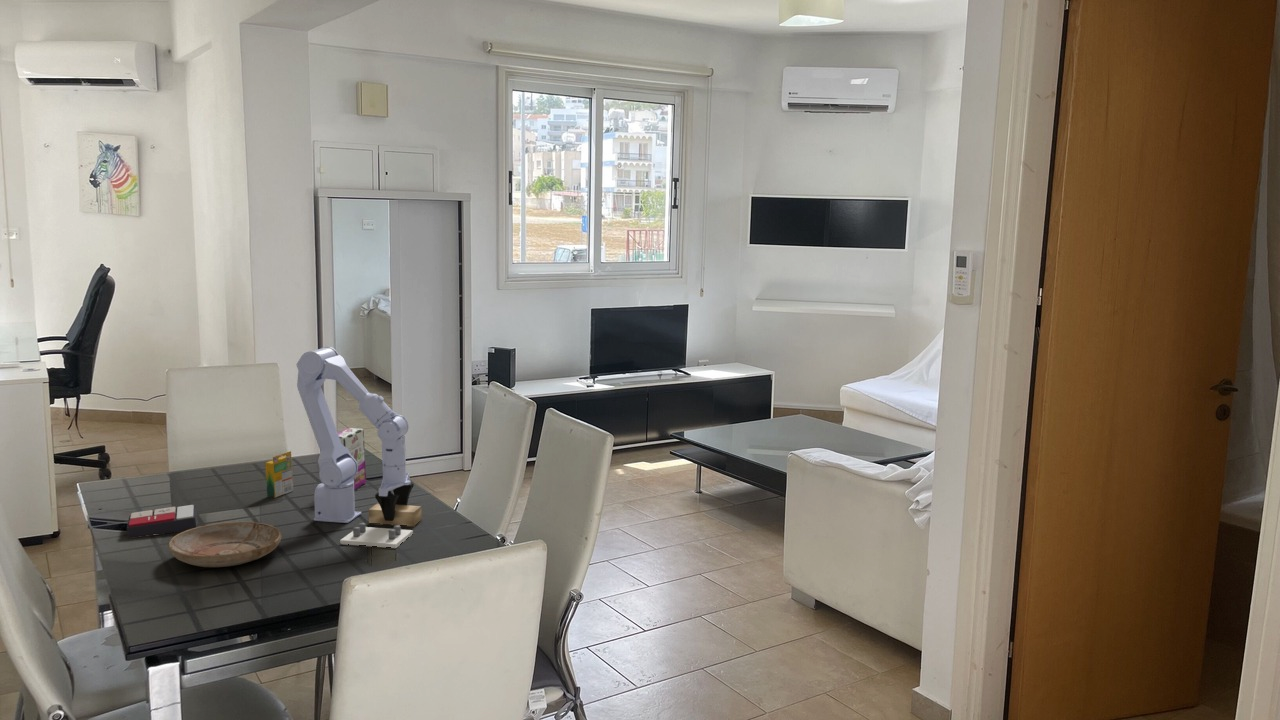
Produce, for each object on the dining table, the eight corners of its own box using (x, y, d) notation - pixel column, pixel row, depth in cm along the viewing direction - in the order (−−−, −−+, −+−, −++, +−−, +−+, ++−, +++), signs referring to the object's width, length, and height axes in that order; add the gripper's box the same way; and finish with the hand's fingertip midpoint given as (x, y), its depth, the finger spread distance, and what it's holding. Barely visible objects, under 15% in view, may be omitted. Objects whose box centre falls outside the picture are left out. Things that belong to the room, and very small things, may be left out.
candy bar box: (350, 482, 275) (348, 427, 272) (366, 483, 274) (364, 428, 271) (330, 493, 264) (328, 436, 261) (347, 494, 263) (345, 437, 260)
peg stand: (340, 544, 224) (339, 532, 223) (359, 530, 234) (359, 518, 233) (396, 548, 222) (395, 536, 221) (412, 534, 231) (412, 522, 231)
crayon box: (285, 489, 266) (283, 449, 265) (293, 491, 265) (291, 451, 264) (266, 496, 260) (264, 455, 258) (275, 498, 259) (273, 457, 257)
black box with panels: (129, 511, 235) (195, 502, 241) (131, 528, 236) (197, 518, 242) (125, 525, 225) (194, 514, 231) (128, 542, 226) (196, 531, 232)
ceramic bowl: (212, 585, 199) (210, 563, 198) (148, 562, 211) (146, 541, 210) (303, 553, 218) (302, 532, 217) (239, 533, 230) (238, 514, 230)
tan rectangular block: (369, 524, 239) (368, 509, 238) (377, 518, 244) (377, 503, 243) (414, 527, 237) (413, 512, 237) (421, 521, 242) (421, 506, 241)
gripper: (397, 472, 230) (398, 525, 232) (420, 457, 245) (421, 507, 247) (370, 470, 231) (371, 523, 234) (394, 456, 246) (395, 506, 248)
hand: (395, 515), depth 240 cm, fingers open, 7 cm apart
